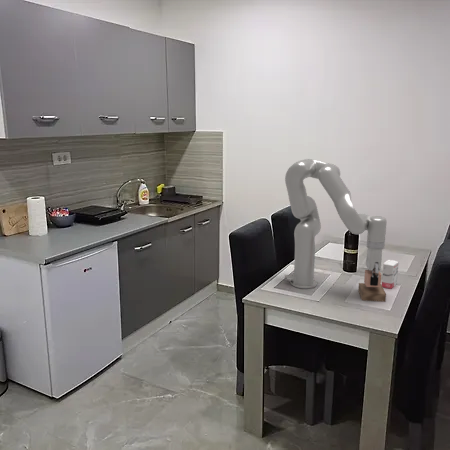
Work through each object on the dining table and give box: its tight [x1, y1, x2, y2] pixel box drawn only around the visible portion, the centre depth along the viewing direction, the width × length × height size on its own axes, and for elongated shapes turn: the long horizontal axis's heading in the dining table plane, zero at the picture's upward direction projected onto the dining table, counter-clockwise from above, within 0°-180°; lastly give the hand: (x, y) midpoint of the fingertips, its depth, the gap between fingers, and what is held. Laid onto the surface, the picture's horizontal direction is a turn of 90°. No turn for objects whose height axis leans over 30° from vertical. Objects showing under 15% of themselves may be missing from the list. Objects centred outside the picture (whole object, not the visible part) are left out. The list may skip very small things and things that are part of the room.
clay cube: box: [363, 269, 383, 287], centre depth 200 cm, size 6×6×6 cm
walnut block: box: [357, 282, 387, 303], centre depth 201 cm, size 10×12×4 cm
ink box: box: [381, 259, 400, 290], centre depth 213 cm, size 9×5×12 cm, turn 142°
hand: (372, 282), depth 200 cm, fingers closed on clay cube, 5 cm apart
